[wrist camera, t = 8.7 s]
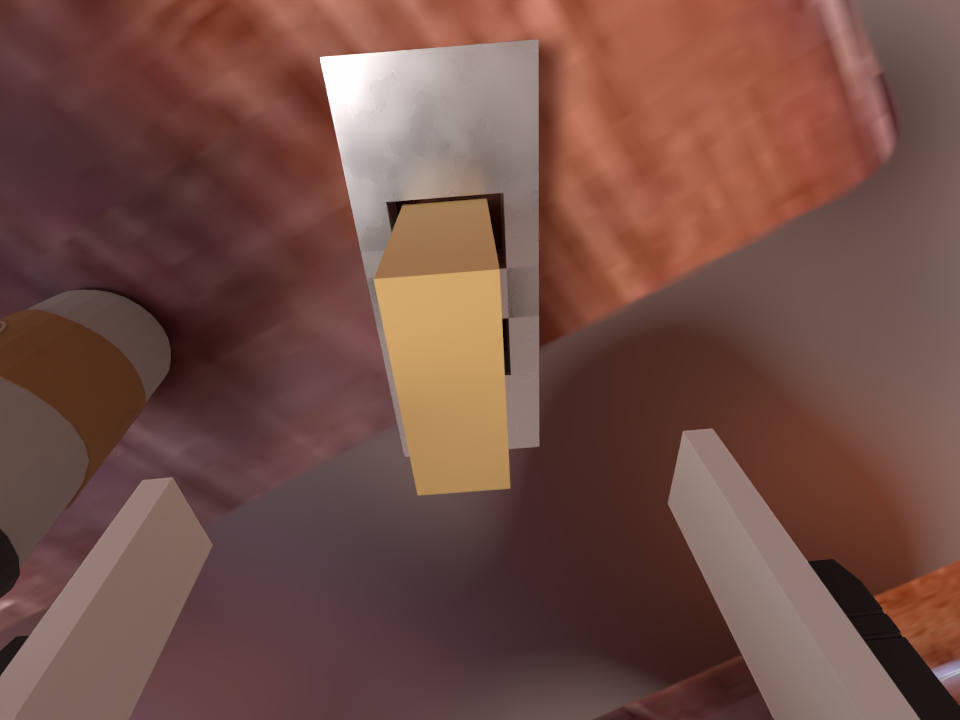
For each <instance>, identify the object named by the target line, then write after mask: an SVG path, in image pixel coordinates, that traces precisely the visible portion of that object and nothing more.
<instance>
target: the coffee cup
mask: <svg viewBox="0 0 960 720" xmlns="http://www.w3.org/2000/svg"><path fill="white" fill-rule="evenodd" d="M170 355H171V349H170V343H169V339H168V337H167V335H166V333H165V331H164V329H163V328H162V326H161V325H160V324H159V323H158V321H157V320H156V319H155V318H154V317H153V316H152V315H151V314H150V313H149V312H147V311H146V310H145V309H144V308H143V307H141V306H140V305H138V304H136V303H135V302H133V301H131V300H129V299H127V298H125V297H123V296H120V295H117V294H114V293H111V292H106V291H99V290H72V291H66V292H63V293H61V294H58V295H56V296H53V297H51V298H49V299H47V300H45V301H43V302H41V303H39V304H37V305H35V306H33V307H30V308H28V309H24V310H22V311H19V312H16V313H13V314H11V315H9V316H7V317H5V318H2V319H0V598H1V597H2V596H4V595H5V594H6V593H7V592H9V591H10V590H11V589H12V587H13V586H14V584H15V582H16V581H17V579H18V577H19V575H20V570H19V569H20V567H21V566H22V565H23V563H24V562H25V561H26V559H27V558H28V557H29V555H30V554H31V553H32V551H33V550H34V549H35V548H36V546H37V545H38V544H39V542H40V541H41V540H42V538H43V537H44V536H45V534H46V533H47V532H48V530H49V529H50V528H51V527H52V525H53V524H54V523H55V521H56V520H57V519H58V517H59V516H60V515H61V513H62V512H63V511H64V510H65V509H67V508H68V507H69V506H70V505H71V504H72V503H73V501H74V500H75V499H76V497H77V496H78V495H79V493H80V492H81V491H82V489H83V488H84V487H85V486H86V484H87V483H88V482H89V480H90V479H91V478H92V476H93V475H94V474H95V472H96V471H97V470H98V468H99V467H100V466H101V464H102V463H103V462H104V460H105V459H106V458H107V456H108V455H109V454H110V452H111V451H112V450H113V448H114V447H115V446H116V444H117V443H118V442H119V440H120V439H121V438H122V436H123V435H124V434H125V432H126V431H127V430H128V428H129V427H130V426H131V424H132V423H133V422H134V420H135V419H136V418H137V416H138V415H139V414H140V412H141V411H142V410H143V408H144V406H145V404H146V402H147V400H148V399H149V398H150V397H151V395H152V394H153V393H154V391H155V390H156V389H157V387H158V386H159V385H160V383H161V382H162V381H163V379H164V378H165V376H166V375H167V373H168V371H169V368H170V362H171V356H170Z"/></svg>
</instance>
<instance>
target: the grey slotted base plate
mask: <svg viewBox="0 0 960 720" xmlns="http://www.w3.org/2000/svg"><path fill="white" fill-rule="evenodd" d="M320 61H321V65H322V70H323V75H324V79H325V84H326V89H327V94H328V98H329V103H330V108H331V113H332V117H333V122H334V127H335V131H336V136H337V141H338V146H339V150H340V155H341V160H342V164H343V169H344V174H345V179H346V183H347V188H348V193H349V197H350V202H351V207H352V212H353V216H354V221H355V226H356V230H357V235H358V240H359V245H360V249H361V254H362V259H363V264H364V268H365V273H366V278H367V282H368V287H369V292H370V297H371V301H372V306H373V311H374V315H375V320H376V325H377V330H378V334H379V339H380V344H381V348H382V353H383V358H384V363H385V367H386V372H387V377H388V381H389V386H390V391H391V396H392V400H393V405H394V410H395V415H396V419H397V424H398V429H399V433H400V438H401V442H402V447H403V452H404V457H409V456H410V455H409V451H408V446H407V441H406V436H405V431H404V426H403V421H402V416H401V411H400V406H399V401H398V397H397V392H396V387H395V382H394V377H393V372H392V367H391V362H390V357H389V352H388V347H387V343H386V338H385V333H384V328H383V323H382V318H381V313H380V308H379V303H378V298H377V293H376V288H375V284H374V277H375V274H376V272H377V269H378V267H379V264H380V261H381V259H382V256H383V254H384V251H385V249H386V246H387V243H388V241H389V238H390V236H391V233H392V231H393V228H394V226H395V223H396V220H397V218H398V215H397V209H396V203H395V201H405V200H418V199H431V198H443V197H456V196H468V195H481V194H494V193H500V204H501V226H502V249H503V250H496V252H497V258H498V263H499V269H500V287H501V308H502V319H504V318H506V338H507V350H505V351H504V369H505V389H506V410H507V430H508V449H515V448H528V447H539V39H537V40H525V41H513V42H501V43H488V44H476V45H464V46H452V47H440V48H427V49H415V50H403V51H391V52H378V53H366V54H354V55H342V56H330V57H320Z"/></svg>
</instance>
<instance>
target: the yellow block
mask: <svg viewBox="0 0 960 720" xmlns="http://www.w3.org/2000/svg"><path fill="white" fill-rule="evenodd" d="M374 284H375V288H376V293H377V298H378V303H379V308H380V313H381V318H382V323H383V328H384V333H385V338H386V343H387V347H388V352H389V357H390V362H391V367H392V372H393V377H394V382H395V387H396V392H397V397H398V401H399V406H400V411H401V416H402V421H403V426H404V431H405V436H406V441H407V446H408V451H409V455H410V460H411V465H412V470H413V475H414V480H415V485H416V490H417V495H431V494H443V493H458V492H471V491H483V490H498V489H510V472H509V451H508V430H507V410H506V389H505V369H504V349H503V328H502V308H501V287H500V269H499V263H498V258H497V252H496V247H495V242H494V236H493V231H492V225H491V220H490V214H489V209H488V204H487V198H486V199H473V200H460V201H448V202H435V203H423V204H410V205H402V208H401V210H400V213H399V215H398V218H397V220H396V223H395V226H394V228H393V231H392V233H391V236H390V238H389V241H388V243H387V246H386V249H385V251H384V254H383V256H382V259H381V261H380V264H379V267H378V269H377V272H376V274H375V277H374Z"/></svg>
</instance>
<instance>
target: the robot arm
mask: <svg viewBox="0 0 960 720" xmlns="http://www.w3.org/2000/svg"><path fill="white" fill-rule="evenodd" d="M668 505H669V507H670V509H671V511H672V513H673V515H674V517H675V519H676V521H677V523H678V525H679V527H680V529H681V531H682V534H683V535H684V537H685V540H686V542H687V544H688V546H689V548H690V550H691V552H692V554H693V556H694V558H695V560H696V562H697V564H698V566H699V568H700V570H701V572H702V574H703V576H704V578H705V580H706V582H707V584H708V586H709V588H710V590H711V592H712V594H713V597H714V598H715V601H716V603H717V605H718V607H719V609H720V611H721V613H722V615H723V617H724V619H725V621H726V623H727V625H728V627H729V629H730V631H731V633H732V635H733V637H734V639H735V641H736V643H737V645H738V647H739V649H740V651H741V653H742V655H743V657H744V660H745V662H746V664H747V666H748V668H749V670H750V672H751V674H752V676H753V678H754V680H755V682H756V684H757V686H758V688H759V690H760V692H761V694H762V696H763V698H764V700H765V702H766V704H767V706H768V708H769V710H770V712H771V714H772V716H773V718H774V720H960V706H959V705H958V704H957V702H956V701H955V700H954V699H953V697H952V696H951V695H950V694H949V692H948V691H947V690H946V688H945V687H944V686H943V685H942V683H941V682H940V681H939V680H938V678H937V677H936V676H935V675H934V673H933V672H932V671H931V669H930V668H929V667H928V666H927V664H926V663H925V662H924V661H923V659H922V658H921V657H920V655H919V654H918V653H917V652H916V650H915V649H914V648H913V647H912V645H911V644H910V643H909V642H908V640H907V639H906V638H905V637H902V636H901V634H900V630H899V629H898V628H897V626H896V625H895V624H894V623H893V621H892V620H891V619H890V617H889V616H888V615H887V614H884V613H883V611H882V607H881V606H880V605H879V603H878V602H877V601H876V600H875V598H874V597H873V596H872V595H871V593H870V592H869V591H868V590H867V588H866V587H865V586H864V585H863V583H862V582H861V581H860V580H859V579H857V578H856V577H855V576H854V575H852V574H851V573H850V572H849V571H847V570H846V569H845V568H843V567H842V566H841V565H840V564H839V563H837V562H836V561H835V560H833V559H828V560H818V561H807V560H806V559H805V557H804V556H803V555H802V553H801V552H800V550H799V549H798V548H797V546H796V545H795V543H794V542H793V541H792V539H791V538H790V536H789V535H788V534H787V532H786V531H785V529H784V528H783V527H782V525H781V524H780V522H779V521H778V519H777V518H776V517H775V515H774V514H773V513H772V511H771V510H770V508H769V507H768V505H767V504H766V503H765V501H764V500H763V498H762V497H761V496H760V494H759V493H758V491H757V490H756V489H755V487H754V486H753V484H752V483H751V482H750V480H749V479H748V477H747V476H746V475H745V473H744V472H743V470H742V469H741V468H740V466H739V465H738V463H737V462H736V461H735V459H734V458H733V456H732V455H731V454H730V452H729V451H728V449H727V448H726V447H725V445H724V444H723V442H722V441H721V440H720V438H719V437H718V435H717V434H716V432H715V431H714V430H713V429H700V430H689V431H683V434H682V439H681V443H680V448H679V453H678V457H677V462H676V467H675V472H674V476H673V481H672V486H671V490H670V495H669V500H668ZM212 546H213V545H212V543H211V541H210V540H209V538H208V536H207V535H206V533H205V531H204V530H203V528H202V526H201V525H200V523H199V521H198V519H197V518H196V516H195V514H194V513H193V511H192V509H191V508H190V506H189V504H188V503H187V501H186V499H185V498H184V496H183V494H182V492H181V491H180V489H179V487H178V486H177V484H176V482H175V481H174V479H173V477H170V478H159V479H148V480H142V481H141V483H140V484H139V485H138V487H137V488H136V489H135V491H134V492H133V494H132V495H131V496H130V498H129V499H128V501H127V502H126V503H125V505H124V506H123V507H122V509H121V510H120V512H119V513H118V514H117V516H116V517H115V518H114V520H113V521H112V523H111V524H110V525H109V527H108V528H107V530H106V531H105V532H104V534H103V535H102V536H101V538H100V539H99V541H98V542H97V543H96V545H95V546H94V548H93V549H92V550H91V552H90V553H89V554H88V556H87V557H86V559H85V560H84V561H83V563H82V564H81V565H80V567H79V568H78V570H77V571H76V572H75V574H74V575H73V577H72V578H71V579H70V581H69V582H68V583H67V585H66V586H65V588H64V589H63V590H62V592H61V593H60V594H59V596H58V597H57V599H56V600H55V601H54V603H53V604H52V606H51V607H50V608H49V610H48V611H47V612H46V614H45V615H44V617H43V618H42V620H41V621H40V622H39V624H38V625H37V627H36V628H35V629H34V630H33V632H32V633H31V635H30V636H19V637H15V638H14V639H13V640H12V641H11V642H10V643H9V644H8V645H6V646H5V647H4V648H3V649H2V650H1V651H0V720H129V717H130V716H131V714H132V712H133V709H134V707H135V705H136V703H137V701H138V699H139V697H140V695H141V693H142V691H143V689H144V687H145V685H146V683H147V681H148V679H149V676H150V674H151V672H152V670H153V668H154V666H155V664H156V662H157V660H158V658H159V656H160V653H161V652H162V650H163V647H164V645H165V643H166V641H167V639H168V637H169V635H170V633H171V631H172V629H173V627H174V625H175V623H176V620H177V618H178V616H179V614H180V612H181V610H182V608H183V606H184V604H185V602H186V600H187V598H188V596H189V594H190V591H191V589H192V587H193V585H194V583H195V581H196V579H197V577H198V575H199V573H200V571H201V569H202V566H203V564H204V562H205V560H206V558H207V556H208V554H209V552H210V550H211V548H212Z"/></svg>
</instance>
